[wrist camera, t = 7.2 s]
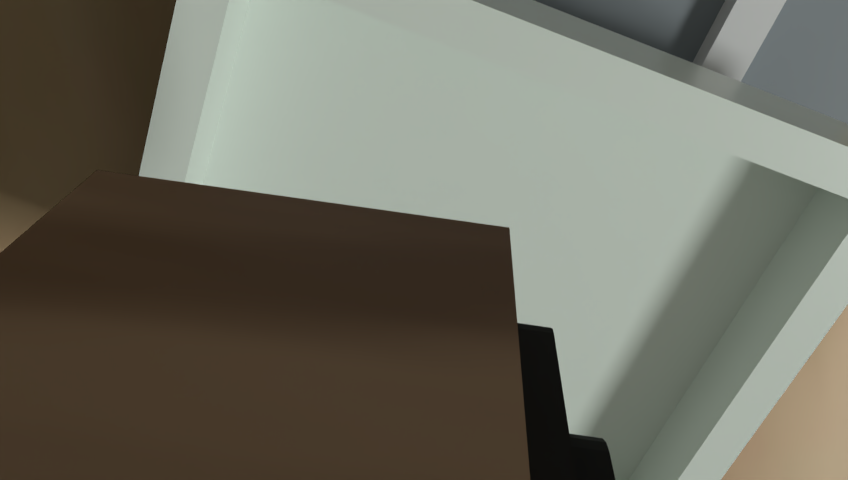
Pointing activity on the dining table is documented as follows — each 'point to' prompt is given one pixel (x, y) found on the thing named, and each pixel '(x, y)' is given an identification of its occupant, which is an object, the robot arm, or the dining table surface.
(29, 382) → the walnut block
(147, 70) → the dining table surface
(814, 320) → the shallow sage tray
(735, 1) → the track
